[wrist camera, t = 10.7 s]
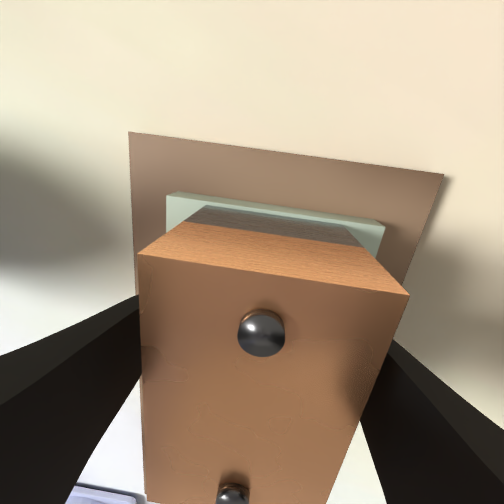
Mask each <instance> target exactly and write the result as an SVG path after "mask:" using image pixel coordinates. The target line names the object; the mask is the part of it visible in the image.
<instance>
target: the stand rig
mask: <svg viewBox="0 0 504 504" xmlns="http://www.w3.org/2000/svg"><path fill="white" fill-rule="evenodd" d="M128 135H129V157H130V180H131V202H132V224H133V246H134V268H135V290H136V295H138V294H139V287H138V262H137V253H139V252H140V251H142V250H143V249H144V248H146V247H147V246H149V245H150V244H151V243H153V242H154V241H156V240H157V239H158V238H160V237H161V236H163V235H164V234H165V233H167V232H168V231H170V230H171V229H173V228H174V227H175V226H177V225H178V224H180V223H181V222H182V221H184V220H185V219H187V218H188V217H189V216H191V215H192V214H194V213H195V212H196V211H198V210H199V209H201V208H202V207H204V206H205V205H211V206H218V207H225V208H232V209H239V210H246V211H252V212H259V213H266V214H273V215H280V216H287V217H294V218H301V219H308V220H315V221H322V222H328V223H335V224H342V225H343V226H344V227H345V228H346V229H347V230H348V231H349V232H350V233H351V234H352V235H353V236H354V237H355V238H356V239H357V240H358V241H359V242H360V244H361V245H362V246H363V247H364V248H365V249H366V250H367V251H368V252H369V253H370V254H371V255H372V256H373V257H374V258H375V259H376V260H377V261H378V262H379V263H380V264H381V265H382V266H383V267H384V269H385V270H386V271H387V272H388V273H389V274H390V275H391V276H392V277H393V278H394V279H395V280H396V281H397V282H398V283H399V284H400V285H401V286H402V283H403V280H404V278H405V275H406V273H407V270H408V267H409V265H410V262H411V260H412V257H413V254H414V252H415V249H416V247H417V244H418V241H419V239H420V236H421V234H422V231H423V228H424V226H425V223H426V220H427V218H428V215H429V213H430V210H431V207H432V205H433V202H434V200H435V197H436V194H437V192H438V189H439V187H440V184H441V181H442V179H443V176H444V174H438V173H431V172H424V171H416V170H409V169H401V168H394V167H387V166H379V165H372V164H364V163H357V162H350V161H342V160H335V159H327V158H320V157H313V156H305V155H298V154H290V153H283V152H276V151H268V150H261V149H253V148H246V147H239V146H231V145H224V144H216V143H209V142H202V141H194V140H187V139H179V138H172V137H165V136H157V135H150V134H142V133H135V132H128ZM139 379H140V401H141V423H142V446H143V468H144V490H145V494H147V490H146V464H145V439H144V414H143V388H142V375H141V376H140V378H139Z"/></svg>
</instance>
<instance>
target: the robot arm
mask: <svg viewBox="0 0 504 504" xmlns="http://www.w3.org/2000/svg"><path fill="white" fill-rule="evenodd" d="M141 375H142V363H141V338H140V312H139V294H138V295H136V296H133V297H131V298H129V299H127V300H124V301H122V302H120V303H118V304H116V305H114V306H112V307H110V308H108V309H106V310H104V311H102V312H100V313H98V314H96V315H94V316H91V317H89V318H87V319H85V320H83V321H81V322H79V323H77V324H75V325H72V326H70V327H68V328H66V329H63V330H61V331H59V332H57V333H54V334H52V335H50V336H48V337H45V338H43V339H41V340H39V341H36V342H34V343H32V344H29V345H27V346H24V347H22V348H19V349H17V350H14V351H12V352H9V353H6V354H4V355H1V356H0V504H137V502H136V499H135V498H134V497H131V496H127V495H121V494H116V493H111V492H105V491H100V490H95V489H89V488H84V487H79V486H75V484H76V482H77V480H78V478H79V476H80V475H81V473H82V471H83V469H84V467H85V465H86V463H87V461H88V460H89V458H90V456H91V454H92V453H93V451H94V449H95V448H96V446H97V444H98V443H99V441H100V439H101V438H102V436H103V435H104V433H105V432H106V430H107V428H108V427H109V425H110V424H111V422H112V421H113V419H114V417H115V416H116V414H117V413H118V411H119V410H120V408H121V407H122V405H123V403H124V402H125V400H126V399H127V397H128V396H129V394H130V392H131V391H132V389H133V388H134V386H135V384H136V383H137V381H138V380H139V378H140V376H141ZM360 422H361V425H362V428H363V432H364V435H365V438H366V441H367V444H368V447H369V450H370V453H371V456H372V459H373V462H374V465H375V468H376V471H377V474H378V477H379V480H380V483H381V486H382V489H383V492H384V496H385V499H386V502H387V504H504V430H503V429H502V428H500V427H499V426H498V425H496V424H495V423H494V422H493V421H491V420H490V419H489V418H487V417H486V416H485V415H484V414H482V413H481V412H480V411H478V410H477V409H476V408H475V407H473V406H472V405H471V404H470V403H468V402H467V401H466V400H465V399H463V398H462V397H461V396H460V395H458V394H457V393H456V392H455V391H453V390H452V389H451V388H450V387H449V386H447V385H446V384H445V383H444V382H443V381H441V380H440V379H439V378H438V377H437V376H436V375H434V374H433V373H432V372H431V371H430V370H428V369H427V368H426V367H425V366H424V365H423V364H421V363H420V362H419V361H418V360H417V359H416V358H414V357H413V356H412V355H411V354H410V353H409V352H407V351H406V350H405V349H404V348H403V347H401V346H400V345H399V344H398V343H397V342H395V341H394V340H393V339H392V342H391V344H390V347H389V349H388V352H387V354H386V356H385V359H384V361H383V364H382V366H381V369H380V371H379V374H378V376H377V379H376V381H375V384H374V386H373V389H372V391H371V393H370V396H369V398H368V401H367V403H366V406H365V408H364V411H363V413H362V416H361V418H360Z"/></svg>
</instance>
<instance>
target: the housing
mask: <svg viewBox="0 0 504 504" xmlns="http://www.w3.org/2000/svg"><path fill="white" fill-rule="evenodd" d="M137 262H138V287H139V312H140V338H141V363H142V388H143V414H144V439H145V464H146V490H147V501H150V502H155V503H160V504H326V502H327V500H328V497H329V495H330V492H331V490H332V487H333V485H334V482H335V480H336V477H337V475H338V472H339V470H340V468H341V465H342V463H343V460H344V458H345V455H346V453H347V450H348V448H349V445H350V443H351V440H352V438H353V435H354V433H355V431H356V428H357V426H358V423H359V421H360V418H361V416H362V413H363V411H364V408H365V406H366V403H367V401H368V398H369V396H370V393H371V391H372V389H373V386H374V384H375V381H376V379H377V376H378V374H379V371H380V369H381V366H382V364H383V361H384V359H385V356H386V354H387V352H388V349H389V347H390V344H391V342H392V339H393V337H394V334H395V332H396V329H397V327H398V324H399V322H400V319H401V317H402V315H403V312H404V310H405V307H406V305H407V302H408V300H409V297H410V295H409V294H408V293H407V291H406V290H405V289H404V288H403V287H402V286H401V285H400V284H399V283H398V282H397V281H396V280H395V279H394V278H393V277H392V276H391V275H390V274H389V273H388V272H387V271H386V270H385V269H384V267H383V266H382V265H381V264H380V263H379V262H378V261H377V260H376V259H375V258H374V257H373V256H372V255H371V254H370V253H369V252H368V251H367V250H366V249H365V248H364V247H363V246H362V245H361V244H360V242H359V241H358V240H357V239H356V238H355V237H354V236H353V235H352V234H351V233H350V232H349V231H348V230H347V229H346V228H345V227H344V226H343V225H342V224H335V223H328V222H322V221H315V220H308V219H301V218H294V217H287V216H280V215H273V214H266V213H259V212H252V211H246V210H239V209H232V208H225V207H218V206H211V205H205V206H204V207H202V208H201V209H199V210H198V211H196V212H195V213H194V214H192V215H191V216H189V217H188V218H187V219H185V220H184V221H182V222H181V223H180V224H178V225H177V226H175V227H174V228H173V229H171V230H170V231H168V232H167V233H165V234H164V235H163V236H161V237H160V238H158V239H157V240H156V241H154V242H153V243H151V244H150V245H149V246H147V247H146V248H144V249H143V250H142V251H140V252H139V253H137Z"/></svg>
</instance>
